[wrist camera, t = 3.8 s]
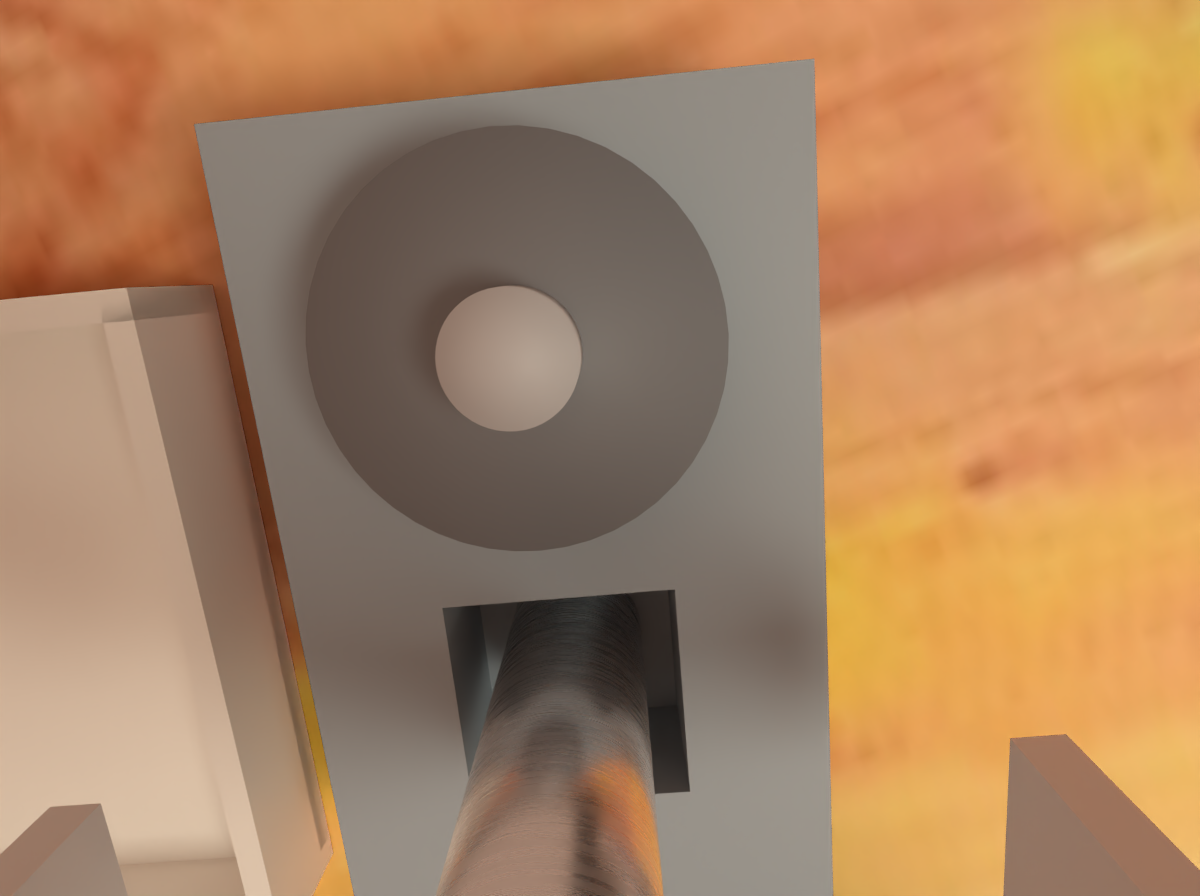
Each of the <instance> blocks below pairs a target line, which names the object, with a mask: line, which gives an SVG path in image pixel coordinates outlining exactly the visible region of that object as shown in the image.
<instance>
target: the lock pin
mask: <svg viewBox="0 0 1200 896" xmlns="http://www.w3.org/2000/svg"><path fill="white" fill-rule="evenodd" d="M436 896H663V884H662V872H661V860H660V848H659V837H658V825H657V813H656V801H655V789H654V777H653V765H652V753H651V741H650V729H649V718H648V706H647V694H646V682H645V670H644V658H643V646H642V634H641V623H640V617H639V614H638V610H637V608H636V606H635V604H634V602H633V600H632V599H631V597H630V596H629V594H628V593H623V594H611V595H598V596H586V597H573V598H561V599H548V600H536V601H523V602H519V604H518V606H517V609H516V611H515V615H514V619H513V622H512V626H511V629H510V633H509V636H508V640H507V643H506V647H505V651H504V654H503V658H502V661H501V665H500V668H499V672H498V676H497V679H496V683H495V686H494V690H493V693H492V697H491V700H490V704H489V708H488V711H487V715H486V718H485V722H484V725H483V729H482V733H481V736H480V740H479V743H478V747H477V750H476V754H475V757H474V761H473V765H472V768H471V772H470V775H469V779H468V782H467V786H466V790H465V793H464V797H463V800H462V804H461V807H460V811H459V814H458V818H457V822H456V825H455V829H454V832H453V836H452V839H451V843H450V846H449V850H448V854H447V857H446V861H445V864H444V868H443V871H442V875H441V879H440V882H439V886H438V889H437V893H436Z"/></svg>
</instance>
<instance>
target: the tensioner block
mask: <svg viewBox="0 0 1200 896" xmlns="http://www.w3.org/2000/svg"><path fill="white" fill-rule="evenodd" d="M194 126H195V131H196V136H197V141H198V146H199V150H200V155H201V160H202V165H203V170H204V175H205V179H206V184H207V189H208V194H209V199H210V203H211V208H212V213H213V218H214V223H215V228H216V232H217V237H218V242H219V247H220V252H221V256H222V261H223V266H224V271H225V276H226V281H227V285H228V290H229V295H230V300H231V305H232V309H233V314H234V319H235V324H236V329H237V333H238V338H239V343H240V348H241V353H242V358H243V362H244V367H245V372H246V377H247V382H248V386H249V391H250V396H251V401H252V406H253V411H254V415H255V420H256V425H257V430H258V435H259V439H260V444H261V449H262V454H263V459H264V464H265V468H266V473H267V478H268V483H269V488H270V492H271V497H272V502H273V507H274V512H275V517H276V521H277V526H278V531H279V536H280V541H281V545H282V550H283V555H284V560H285V565H286V569H287V574H288V579H289V584H290V589H291V594H292V598H293V603H294V608H295V613H296V618H297V622H298V627H299V632H300V637H301V642H302V647H303V651H304V656H305V661H306V666H307V671H308V675H309V680H310V685H311V690H312V695H313V700H314V704H315V709H316V714H317V719H318V724H319V728H320V733H321V738H322V743H323V748H324V752H325V757H326V762H327V767H328V772H329V777H330V781H331V786H332V791H333V796H334V801H335V805H336V810H337V815H338V820H339V825H340V830H341V834H342V839H343V844H344V849H345V854H346V858H347V863H348V868H349V873H350V878H351V883H352V887H353V892H354V896H436V893H437V889H438V886H439V882H440V879H441V875H442V871H443V868H444V864H445V861H446V857H447V854H448V850H449V846H450V843H451V839H452V836H453V832H454V829H455V825H456V822H457V818H458V814H459V811H460V807H461V804H462V800H463V797H464V793H465V790H466V786H467V782H468V779H469V775H470V772H471V768H472V765H473V761H474V757H475V754H476V750H477V747H478V743H479V740H480V736H481V733H482V729H483V725H484V722H485V718H486V715H487V711H488V708H489V704H490V700H491V697H492V693H493V690H494V686H495V683H496V679H497V676H498V672H499V668H500V665H501V661H502V658H503V654H504V651H505V647H506V643H507V640H508V636H509V633H510V629H511V626H512V622H513V619H514V615H515V611H516V609H517V606H518V604H519V602H523V601H536V600H548V599H561V598H573V597H586V596H598V595H611V594H623V593H628V594H629V596H630V597H631V599H632V600H633V602H634V604H635V606H636V608H637V610H638V614H639V617H640V623H641V634H642V646H643V658H644V670H645V682H646V694H647V706H648V718H649V729H650V741H651V753H652V765H653V777H654V789H655V801H656V813H657V825H658V837H659V848H660V860H661V872H662V884H663V896H833V872H832V827H831V783H830V738H829V694H828V649H827V604H826V560H825V515H824V471H823V426H822V381H821V337H820V292H819V248H818V203H817V158H816V114H815V69H814V59H807V60H798V61H788V62H779V63H769V64H760V65H750V66H741V67H731V68H722V69H712V70H703V71H693V72H684V73H674V74H665V75H655V76H646V77H637V78H627V79H618V80H608V81H599V82H589V83H580V84H570V85H561V86H551V87H542V88H532V89H523V90H513V91H504V92H494V93H485V94H475V95H466V96H456V97H447V98H437V99H428V100H418V101H409V102H400V103H390V104H381V105H371V106H362V107H352V108H343V109H333V110H324V111H314V112H305V113H295V114H286V115H276V116H267V117H257V118H248V119H238V120H229V121H219V122H210V123H200V124H194Z"/></svg>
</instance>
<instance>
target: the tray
mask: <svg viewBox="0 0 1200 896" xmlns="http://www.w3.org/2000/svg"><path fill="white" fill-rule="evenodd" d="M97 803H101V806H102V809H103V813H104V816H105V820H106V823H107V826H108V830H109V833H110V836H111V840H112V843H113V847H114V850H115V853H116V857H117V860H118V864H119V867H120V870H121V874H122V877H123V881H124V884H125V887H126V891H127V894H128V896H313V894H314V892H315V890H316V888H317V886H318V884H319V882H320V880H321V877H322V875H323V873H324V871H325V869H326V867H327V865H328V863H329V861H330V859H331V856H332V854H333V850H332V845H331V840H330V836H329V831H328V826H327V822H326V817H325V812H324V807H323V803H322V798H321V793H320V789H319V784H318V779H317V775H316V770H315V765H314V760H313V756H312V751H311V746H310V742H309V737H308V732H307V727H306V723H305V718H304V713H303V709H302V704H301V699H300V694H299V690H298V685H297V680H296V676H295V671H294V666H293V661H292V657H291V652H290V647H289V643H288V638H287V633H286V628H285V624H284V619H283V614H282V610H281V605H280V600H279V595H278V591H277V586H276V581H275V577H274V572H273V567H272V563H271V558H270V553H269V548H268V544H267V539H266V534H265V530H264V525H263V520H262V515H261V511H260V506H259V501H258V497H257V492H256V487H255V482H254V478H253V473H252V468H251V464H250V459H249V454H248V449H247V445H246V440H245V435H244V431H243V426H242V421H241V416H240V412H239V407H238V402H237V398H236V393H235V388H234V384H233V379H232V374H231V369H230V365H229V360H228V355H227V351H226V346H225V341H224V336H223V332H222V327H221V322H220V318H219V313H218V308H217V303H216V299H215V294H214V289H213V285H190V286H160V287H130V288H117V289H107V290H97V291H87V292H76V293H66V294H56V295H46V296H35V297H25V298H15V299H4V300H0V854H1V853H2V852H3V851H4V850H5V849H6V848H7V847H9V846H10V845H11V844H12V843H13V842H14V841H15V840H16V839H17V838H18V837H19V836H20V835H21V834H22V833H23V832H24V831H25V830H26V829H27V828H28V827H29V826H31V825H32V824H33V823H34V822H35V821H36V820H37V819H38V818H39V817H40V816H41V815H42V814H43V813H44V812H45V811H46V810H47V809H48V808H49V807H55V806H69V805H83V804H97Z"/></svg>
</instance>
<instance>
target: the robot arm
mask: <svg viewBox="0 0 1200 896" xmlns="http://www.w3.org/2000/svg"><path fill="white" fill-rule="evenodd" d="M0 896H128V894H127V891H126V887H125V884H124V881H123V877H122V874H121V870H120V867H119V864H118V860H117V857H116V853H115V850H114V847H113V843H112V840H111V836H110V833H109V830H108V826H107V823H106V820H105V816H104V813H103V809H102V806H101V803H97V804H83V805H69V806H55V807H49V808H48V809H47V810H46V811H45V812H44V813H43V814H42V815H41V816H40V817H39V818H38V819H37V820H36V821H35V822H34V823H33V824H32V825H31V826H29V827H28V828H27V829H26V830H25V831H24V832H23V833H22V834H21V835H20V836H19V837H18V838H17V839H16V840H15V841H14V842H13V843H12V844H11V845H10V846H9V847H7V848H6V849H5V850H4V851H3V852H2V853H1V854H0ZM1003 896H1200V870H1199V869H1198V868H1197V867H1196V866H1195V865H1194V864H1193V863H1192V862H1191V861H1190V860H1189V859H1188V858H1187V857H1186V856H1185V855H1184V854H1183V853H1182V852H1181V851H1180V850H1179V849H1178V848H1177V847H1176V846H1175V845H1174V844H1173V843H1172V842H1171V841H1170V840H1169V839H1168V838H1167V837H1166V836H1165V835H1164V834H1163V833H1162V832H1161V831H1160V830H1159V828H1158V827H1157V826H1156V825H1155V824H1154V823H1153V822H1152V821H1151V820H1150V819H1149V818H1148V817H1147V816H1146V815H1145V814H1144V813H1143V812H1142V811H1141V810H1140V809H1139V808H1138V807H1137V806H1136V805H1135V804H1134V803H1133V802H1132V801H1131V800H1130V799H1129V798H1128V797H1127V796H1126V795H1125V794H1124V793H1123V792H1122V791H1121V790H1120V789H1119V788H1118V787H1117V786H1116V785H1115V784H1114V783H1113V782H1112V781H1111V780H1110V779H1109V778H1108V777H1107V776H1106V775H1105V774H1104V773H1103V772H1102V770H1101V769H1100V768H1099V767H1098V766H1097V765H1096V764H1095V763H1094V762H1093V761H1092V760H1091V759H1090V758H1089V757H1088V756H1087V755H1086V754H1085V753H1084V752H1083V751H1082V750H1081V749H1080V748H1079V747H1078V746H1077V745H1076V744H1075V743H1074V742H1073V741H1072V740H1071V739H1070V738H1069V737H1068V736H1067V735H1066V734H1064V735H1050V736H1036V737H1022V738H1010V757H1009V780H1008V803H1007V826H1006V849H1005V872H1004V895H1003Z"/></svg>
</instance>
